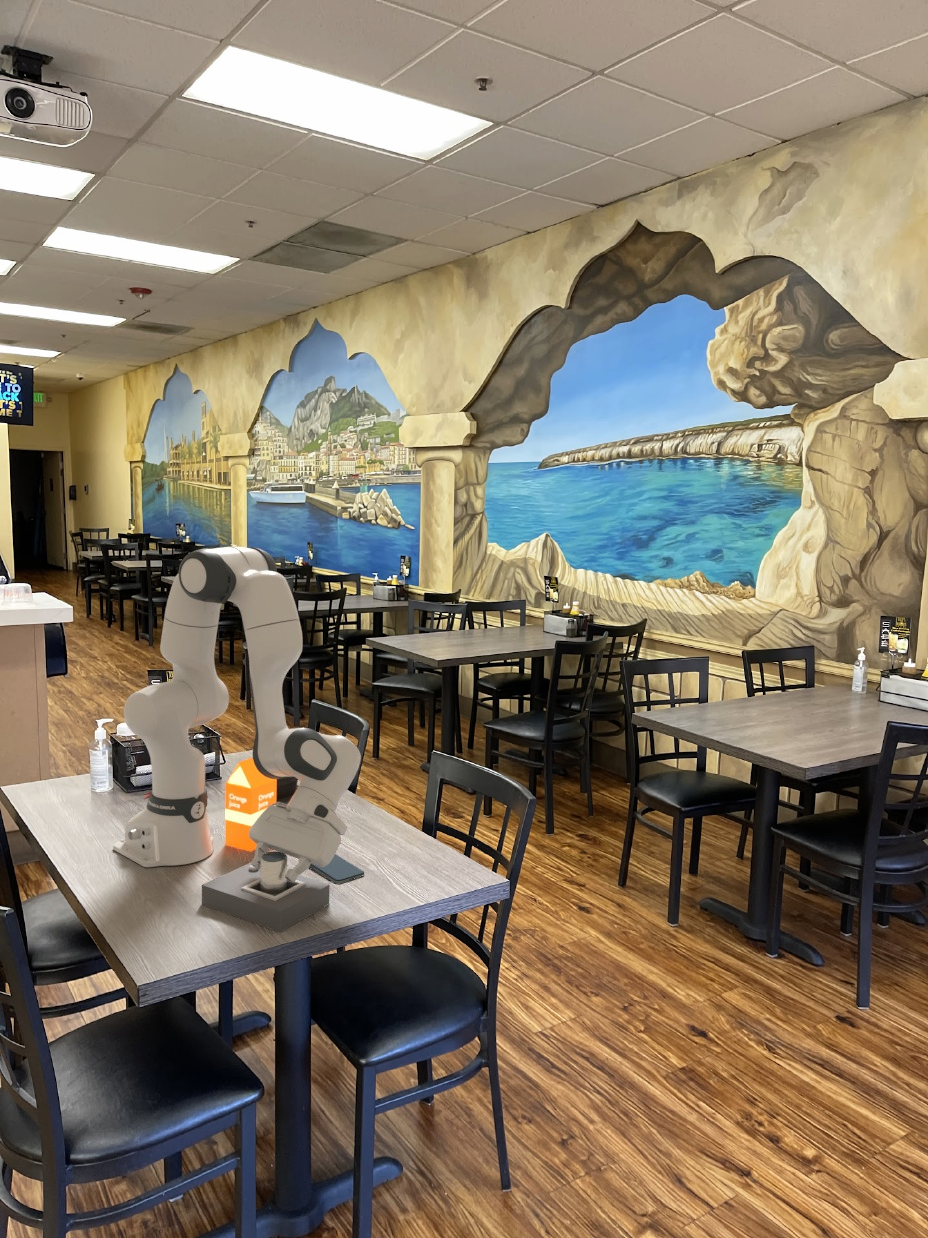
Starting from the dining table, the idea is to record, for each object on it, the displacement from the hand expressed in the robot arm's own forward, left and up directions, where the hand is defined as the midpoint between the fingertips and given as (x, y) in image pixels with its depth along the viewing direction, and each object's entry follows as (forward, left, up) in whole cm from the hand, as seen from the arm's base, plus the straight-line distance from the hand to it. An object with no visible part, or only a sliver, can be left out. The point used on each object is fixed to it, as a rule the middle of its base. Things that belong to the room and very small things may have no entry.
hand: (271, 873), depth 165 cm
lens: (0, 0, -7) cm, 7 cm away
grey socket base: (-2, +1, -7) cm, 7 cm away
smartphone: (-2, +21, -8) cm, 23 cm away
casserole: (-45, +48, -7) cm, 66 cm away
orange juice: (-27, +23, -7) cm, 36 cm away
